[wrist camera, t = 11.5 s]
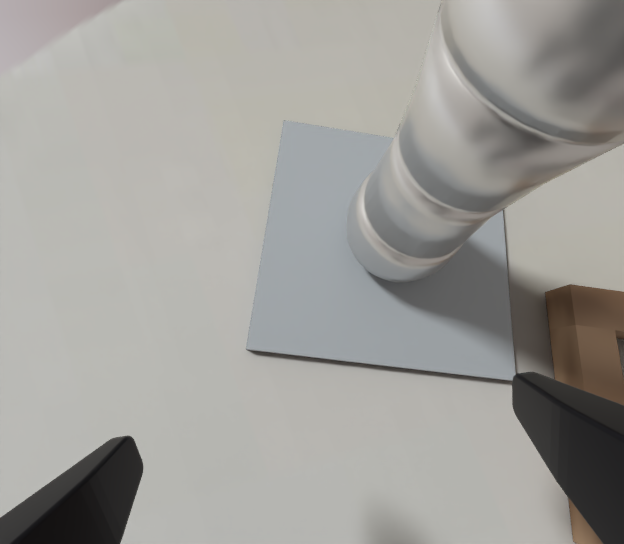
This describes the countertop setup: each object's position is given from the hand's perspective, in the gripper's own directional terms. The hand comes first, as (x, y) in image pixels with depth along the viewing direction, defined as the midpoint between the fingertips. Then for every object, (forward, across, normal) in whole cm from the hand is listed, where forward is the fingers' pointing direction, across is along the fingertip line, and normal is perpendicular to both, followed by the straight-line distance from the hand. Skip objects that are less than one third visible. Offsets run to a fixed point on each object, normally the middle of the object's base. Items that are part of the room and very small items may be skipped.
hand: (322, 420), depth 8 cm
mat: (+15, -5, 0) cm, 16 cm away
